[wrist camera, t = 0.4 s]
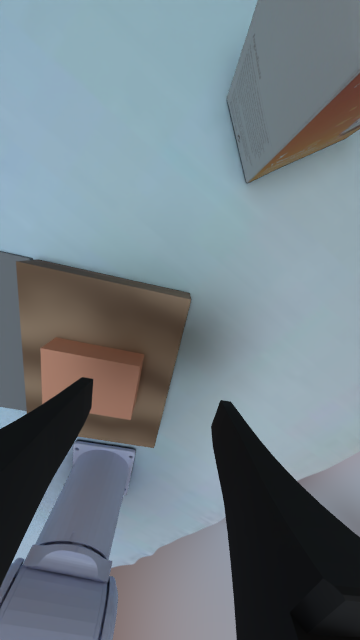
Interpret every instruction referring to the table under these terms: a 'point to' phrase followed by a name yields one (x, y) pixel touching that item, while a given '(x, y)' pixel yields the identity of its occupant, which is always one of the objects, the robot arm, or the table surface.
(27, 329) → the brown flat wooden slab
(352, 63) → the small box
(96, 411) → the block
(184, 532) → the table surface
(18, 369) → the mat
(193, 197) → the table surface
